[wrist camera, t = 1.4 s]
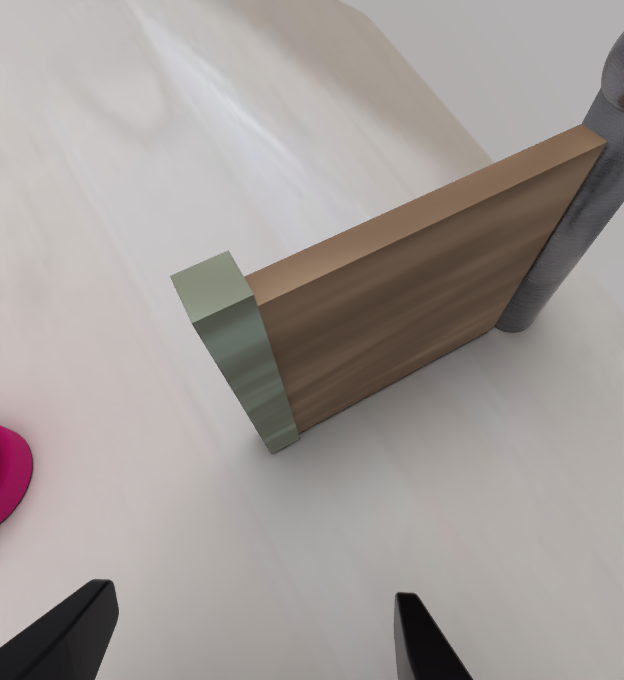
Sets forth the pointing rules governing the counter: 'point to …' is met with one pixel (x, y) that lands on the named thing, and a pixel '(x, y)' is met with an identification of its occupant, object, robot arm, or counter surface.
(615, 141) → the gate post
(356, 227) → the gate
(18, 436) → the pepper mill
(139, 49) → the counter surface
